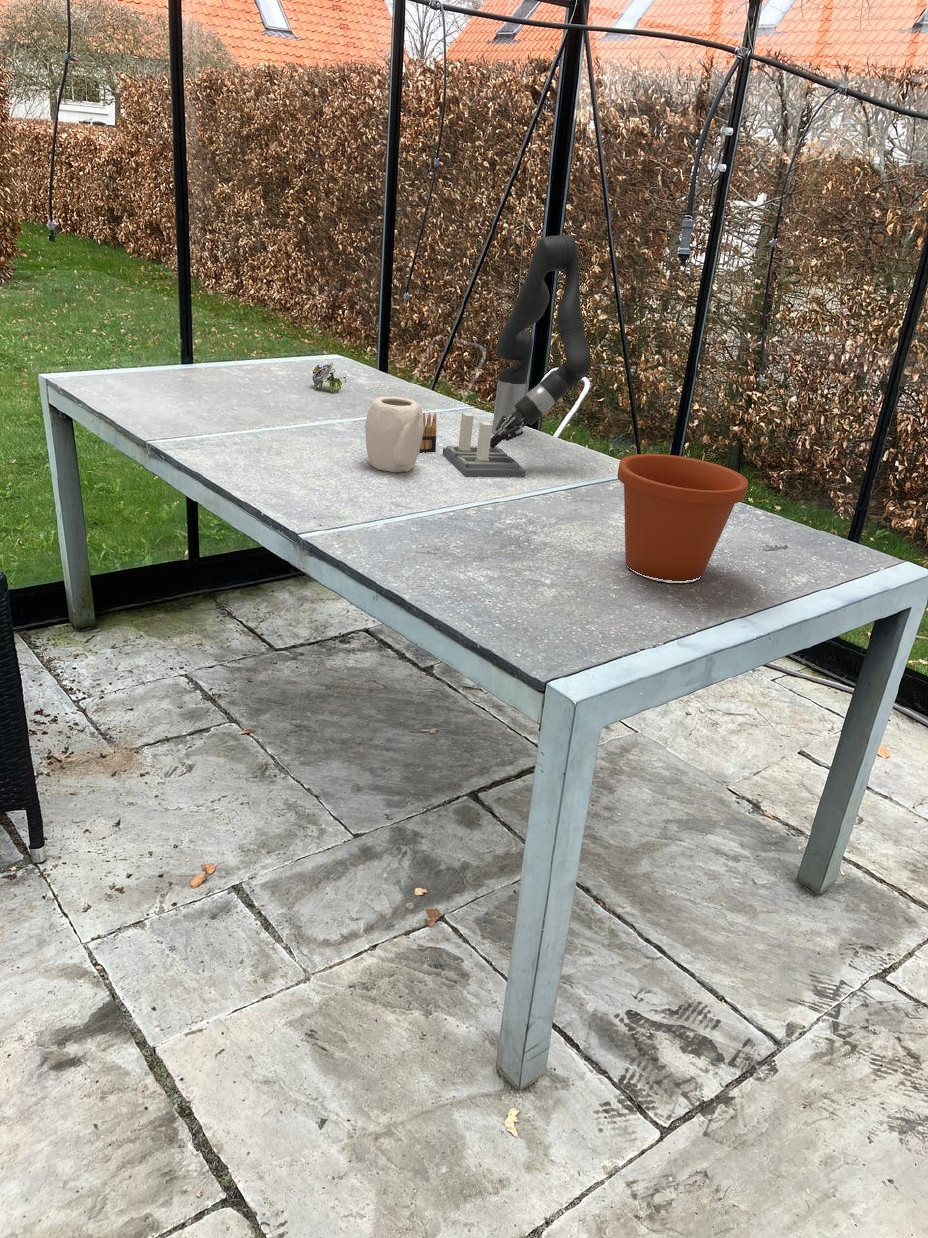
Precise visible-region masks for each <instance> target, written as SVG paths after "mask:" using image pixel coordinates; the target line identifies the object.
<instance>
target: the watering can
mask: <svg viewBox="0 0 928 1238" xmlns="http://www.w3.org/2000/svg"><path fill="white" fill-rule="evenodd" d="M421 407H422V406H421V405H420V404H419V403H418V402H416V401H415V400H413V399H411V398H406V397H401V396H379V397H377V398H375V399H374V400H373V401H372V402H371V404H370V407H369V409H368V412H367V414H366V419H365V424H364V429H365V430H364V431H365V433H364V434H365V445H366V453H367V457H368V462H369V464H370V465H371V466H372V467H373V468H375V469H376V470H379V471H386V472H389V473H400V472H403V473H406V472H409V471H410V470H412V469H413V468H414V466H415V464H416V462H417V459H418V456H419V454H420V453H419V451H420V446H421V442H422V437H423V433H424V422H423V411H422V408H421Z"/></svg>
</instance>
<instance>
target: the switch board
mask: <svg viewBox="0 0 928 1238" xmlns="http://www.w3.org/2000/svg"><path fill="white" fill-rule="evenodd" d="M457 446H458V445H446V447H443V448H442V456H444V457H445V458H446V460H447V461H449V462H450V463H451V464H452V465H453V466H454V467H455V469H457V470H458V471H459V472H460V473H461V474H462V475H463V476H464V477H466V478H525V477H526V472H527V471H526V469H525V468H524V467H522V466H521V464H520V463H518V462H517V461H516V460H515V459H514V458H513V457H512V456H509V455H508V453H506V452H505V451H504V450H503V449H501V448H500V447H499V446H496V447H494V448H493V449H492V448H491V447H490V449H489V458H488V459H489V462H475V456H476V454H477V446H475V445H473V446H471V445H470V449H471V452H457Z"/></svg>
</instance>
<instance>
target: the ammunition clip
mask: <svg viewBox="0 0 928 1238" xmlns="http://www.w3.org/2000/svg"><path fill="white" fill-rule="evenodd" d="M422 414H423V422H424V433H423V437H422V442H421V446H420V451H419V454H427V453H426V452H435V453H436V451H437V413H436V412H434V413H433V416H432V415H431V412H429V413H428V414H427V418H426V413H425V412H422ZM423 452H425V453H423Z"/></svg>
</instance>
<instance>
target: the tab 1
mask: <svg viewBox="0 0 928 1238" xmlns="http://www.w3.org/2000/svg"><path fill="white" fill-rule="evenodd" d="M474 417H475V416H474V414H472V413H471V412H461V419H460V427H459V429H460V430H459V437H458V438H459V439H458V445H456V446H457V452H471V449H470V446H471V444H472V435H473V428H474V427H473V426H474V419H475V418H474Z"/></svg>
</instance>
